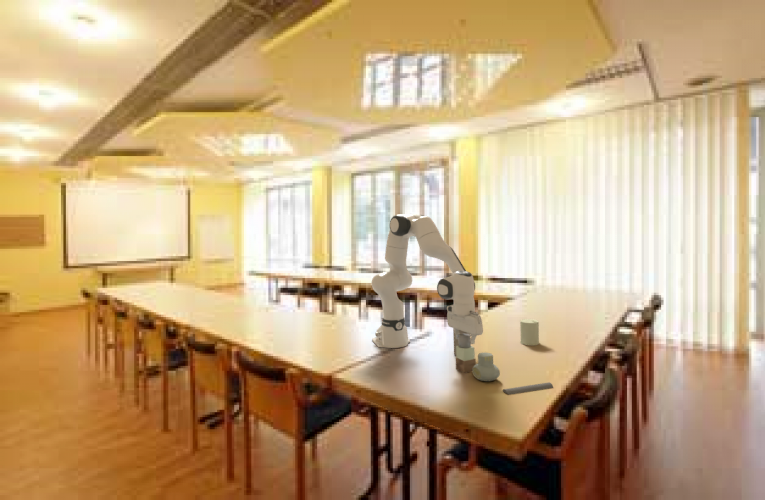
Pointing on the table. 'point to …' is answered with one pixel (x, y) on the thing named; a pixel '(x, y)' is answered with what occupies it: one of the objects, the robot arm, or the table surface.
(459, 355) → the sage block
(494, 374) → the air freshener
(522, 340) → the can
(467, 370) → the walnut block
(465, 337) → the short grey cylinder
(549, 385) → the half round rod
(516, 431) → the table surface
